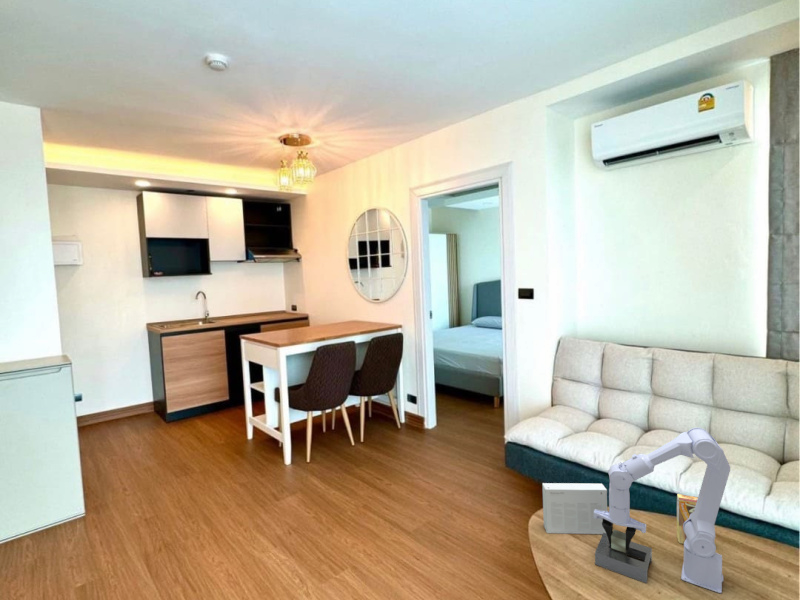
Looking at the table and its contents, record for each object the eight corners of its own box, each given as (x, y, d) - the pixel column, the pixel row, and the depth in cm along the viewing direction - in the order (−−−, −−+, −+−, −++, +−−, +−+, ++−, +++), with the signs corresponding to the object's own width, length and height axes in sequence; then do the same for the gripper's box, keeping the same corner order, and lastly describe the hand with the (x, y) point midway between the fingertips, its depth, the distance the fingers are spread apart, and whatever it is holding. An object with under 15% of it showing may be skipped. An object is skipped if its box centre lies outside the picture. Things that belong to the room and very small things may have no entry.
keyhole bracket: (651, 560, 132) (651, 548, 132) (646, 583, 123) (646, 570, 122) (603, 544, 141) (603, 532, 140) (595, 564, 131) (595, 552, 131)
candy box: (707, 542, 140) (707, 497, 139) (711, 550, 136) (711, 504, 135) (676, 536, 143) (676, 493, 142) (678, 543, 139) (679, 499, 138)
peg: (627, 555, 133) (627, 533, 132) (625, 562, 130) (625, 540, 129) (613, 550, 135) (613, 529, 135) (611, 557, 132) (611, 535, 132)
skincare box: (602, 525, 151) (602, 482, 150) (608, 535, 145) (608, 490, 144) (542, 524, 153) (541, 482, 152) (546, 533, 147) (545, 489, 146)
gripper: (647, 505, 130) (647, 547, 131) (597, 492, 139) (597, 531, 140) (644, 516, 124) (644, 560, 125) (592, 501, 133) (592, 542, 134)
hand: (619, 546), depth 132 cm, fingers closed on peg, 4 cm apart
